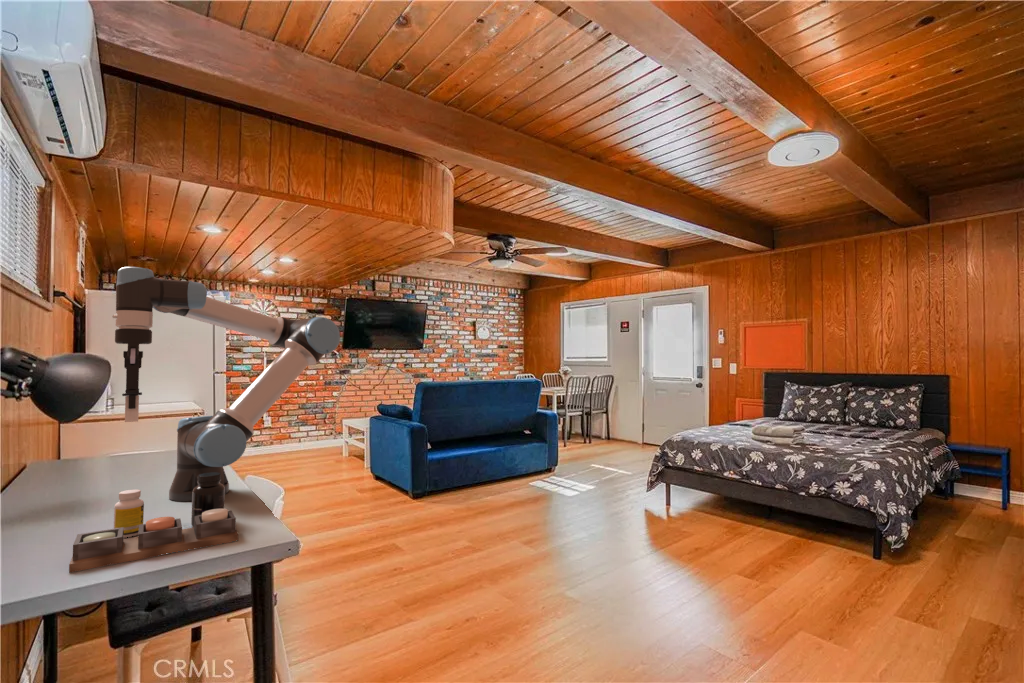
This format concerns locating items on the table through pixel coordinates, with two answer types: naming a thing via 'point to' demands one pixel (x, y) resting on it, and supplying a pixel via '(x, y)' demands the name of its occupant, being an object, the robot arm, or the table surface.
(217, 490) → the supplement bottle
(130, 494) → the supplement bottle
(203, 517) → the peach rounded block
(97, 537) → the sage button
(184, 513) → the table surface
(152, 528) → the terracotta button
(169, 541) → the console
